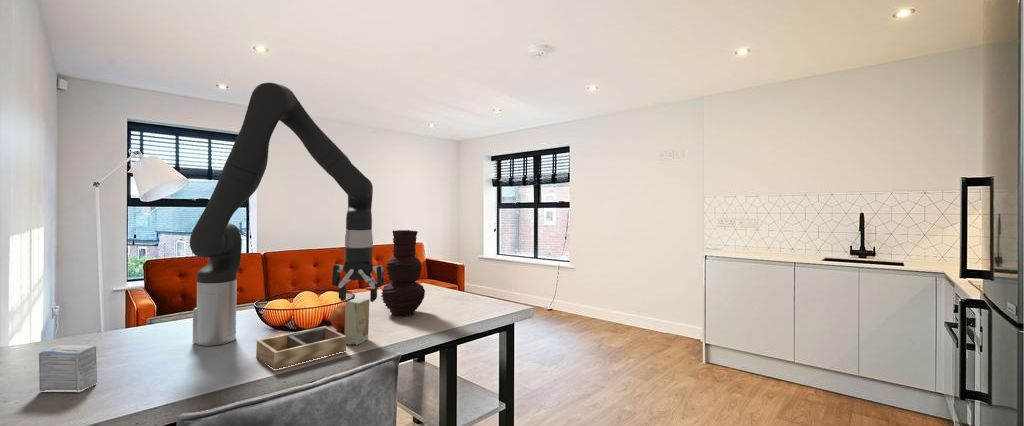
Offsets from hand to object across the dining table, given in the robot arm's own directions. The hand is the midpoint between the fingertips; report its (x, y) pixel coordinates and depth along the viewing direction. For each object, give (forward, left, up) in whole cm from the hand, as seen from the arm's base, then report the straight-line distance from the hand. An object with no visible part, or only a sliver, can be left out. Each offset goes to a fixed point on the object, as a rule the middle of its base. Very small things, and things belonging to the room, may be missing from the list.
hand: (358, 300), depth 125 cm
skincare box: (0, 0, -12) cm, 12 cm away
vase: (+6, +31, -12) cm, 33 cm away
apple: (-7, +10, -12) cm, 17 cm away
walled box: (-10, -11, -12) cm, 20 cm away
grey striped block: (-48, -34, -12) cm, 61 cm away
